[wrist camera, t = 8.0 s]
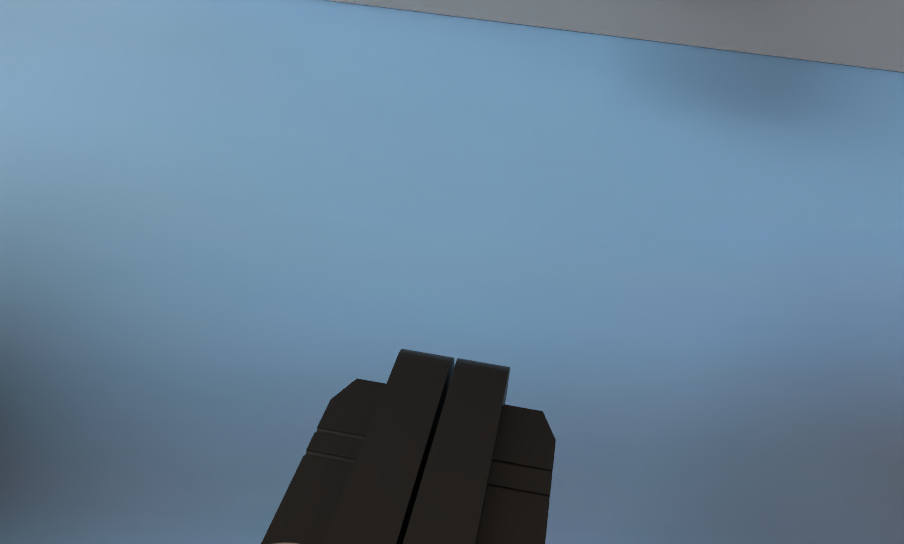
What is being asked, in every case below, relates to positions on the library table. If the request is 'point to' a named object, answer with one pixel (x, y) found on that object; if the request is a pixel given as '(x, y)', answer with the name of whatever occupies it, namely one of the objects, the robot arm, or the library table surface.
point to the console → (711, 24)
